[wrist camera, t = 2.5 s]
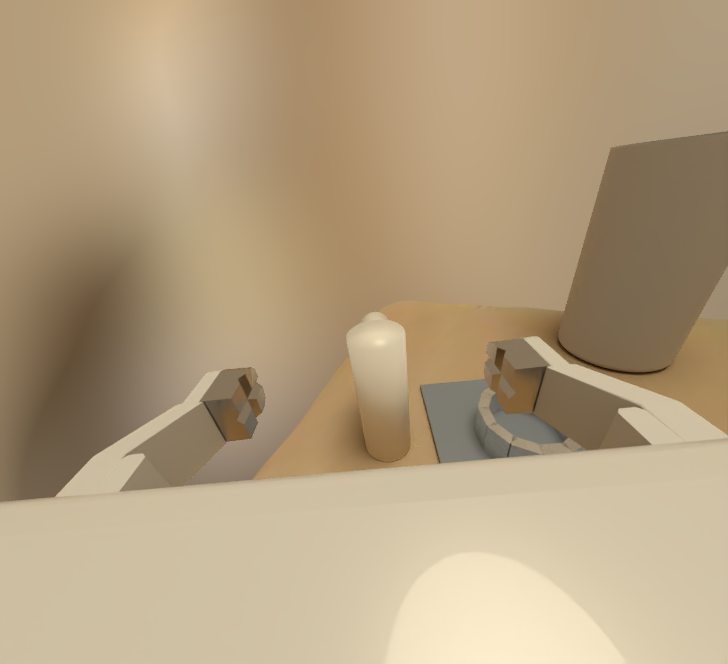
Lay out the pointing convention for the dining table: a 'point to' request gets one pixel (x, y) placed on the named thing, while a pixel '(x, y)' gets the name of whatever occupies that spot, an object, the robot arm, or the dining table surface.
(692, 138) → the cylinder vase
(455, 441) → the slate plate
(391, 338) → the cream peg
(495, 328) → the dining table surface
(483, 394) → the collar
